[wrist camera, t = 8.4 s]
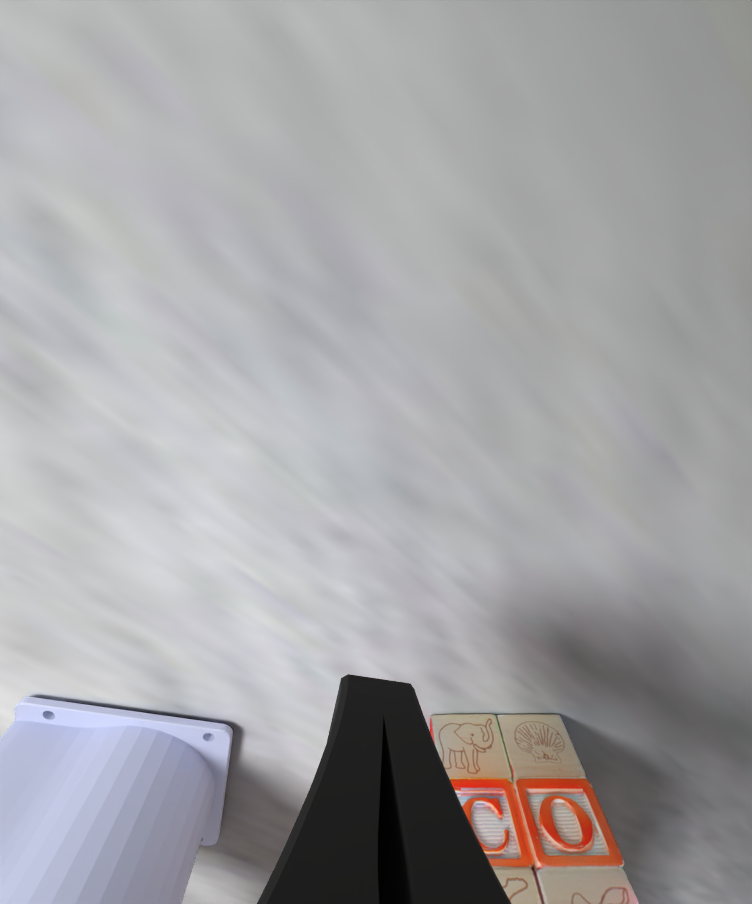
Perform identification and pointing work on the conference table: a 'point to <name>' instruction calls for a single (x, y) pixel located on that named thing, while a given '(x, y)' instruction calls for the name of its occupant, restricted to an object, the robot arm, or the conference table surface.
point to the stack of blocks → (532, 808)
